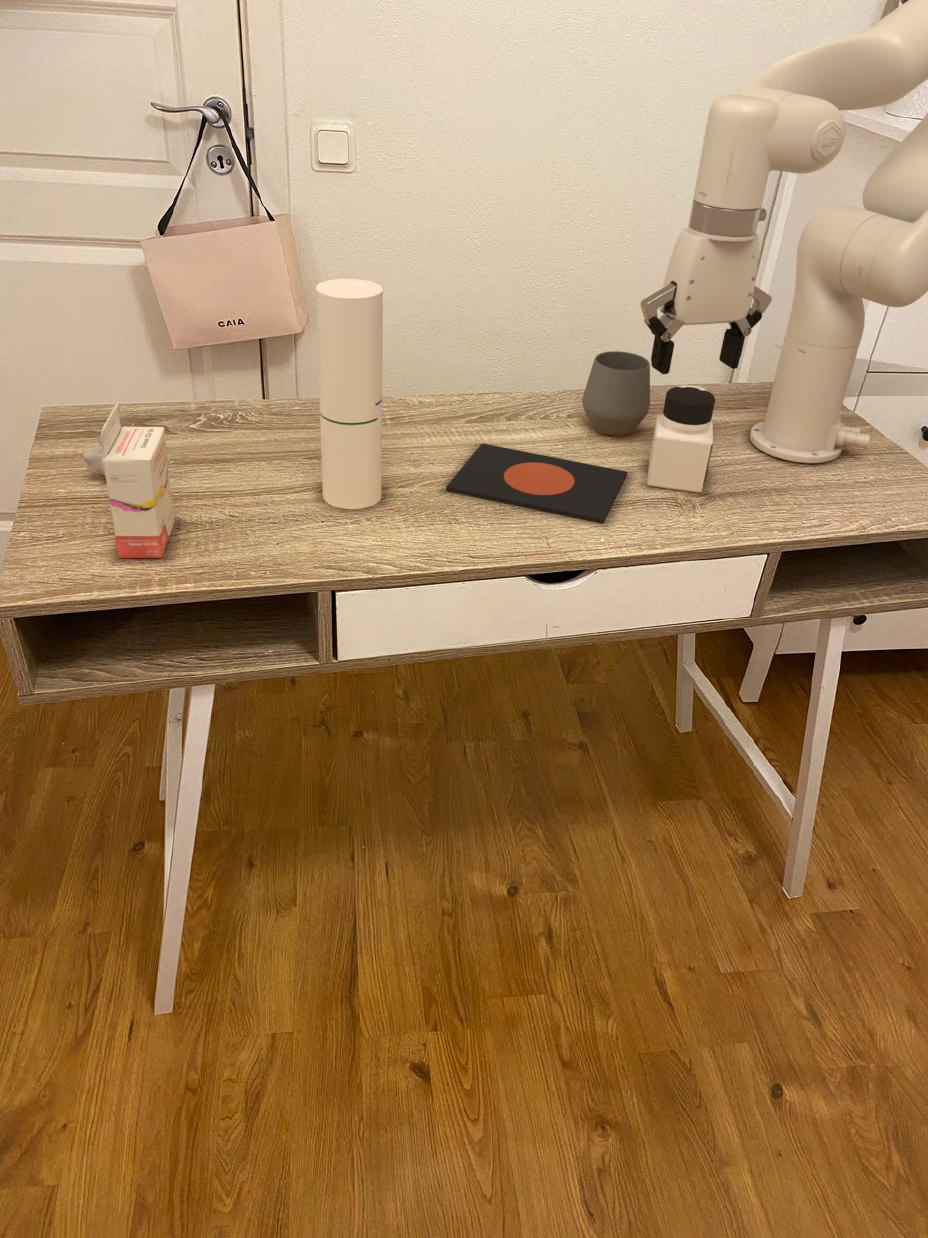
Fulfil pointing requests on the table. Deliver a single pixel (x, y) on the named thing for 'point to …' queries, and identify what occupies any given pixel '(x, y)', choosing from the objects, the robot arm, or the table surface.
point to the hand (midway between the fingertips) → (694, 367)
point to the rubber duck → (95, 458)
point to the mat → (539, 482)
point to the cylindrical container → (350, 391)
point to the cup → (617, 393)
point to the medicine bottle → (682, 440)
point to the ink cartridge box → (137, 487)
